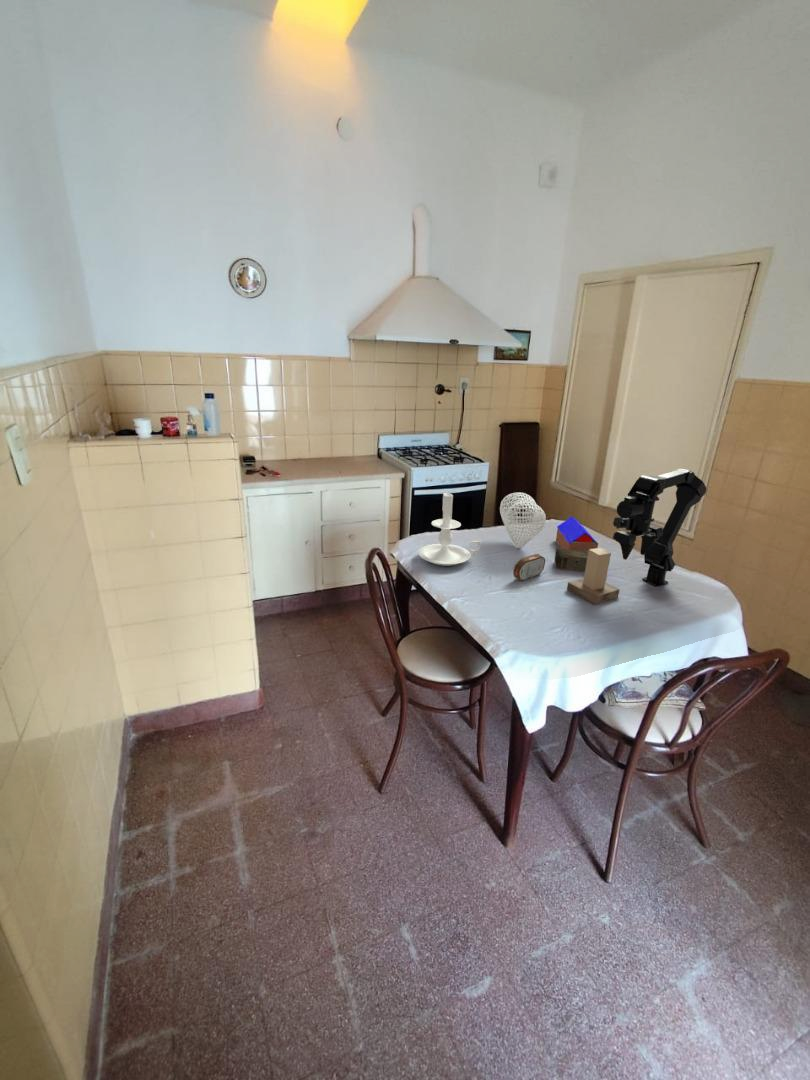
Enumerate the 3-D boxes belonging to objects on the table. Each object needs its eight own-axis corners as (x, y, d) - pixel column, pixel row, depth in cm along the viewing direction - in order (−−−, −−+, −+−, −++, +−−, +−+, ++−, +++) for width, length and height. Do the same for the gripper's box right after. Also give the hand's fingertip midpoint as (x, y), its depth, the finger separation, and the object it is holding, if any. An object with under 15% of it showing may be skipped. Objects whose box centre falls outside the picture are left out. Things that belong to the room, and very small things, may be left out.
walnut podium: (590, 583, 179) (591, 575, 178) (618, 597, 169) (619, 589, 168) (566, 589, 173) (568, 582, 172) (594, 604, 164) (595, 596, 163)
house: (566, 558, 200) (571, 531, 196) (554, 540, 219) (558, 515, 215) (596, 559, 200) (601, 532, 196) (581, 541, 219) (586, 516, 214)
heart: (493, 535, 222) (498, 488, 214) (528, 536, 222) (533, 489, 214) (506, 560, 196) (512, 507, 188) (544, 561, 196) (552, 508, 188)
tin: (538, 571, 188) (541, 550, 185) (545, 574, 185) (548, 553, 182) (511, 580, 179) (513, 559, 176) (518, 584, 177) (520, 562, 174)
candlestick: (485, 571, 186) (492, 500, 176) (420, 571, 185) (423, 500, 174) (475, 550, 205) (480, 485, 195) (416, 550, 204) (418, 485, 193)
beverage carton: (607, 574, 187) (610, 558, 184) (555, 570, 189) (558, 554, 187) (602, 566, 194) (605, 550, 192) (553, 562, 197) (555, 546, 194)
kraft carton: (594, 581, 173) (600, 547, 168) (604, 587, 169) (611, 553, 164) (582, 583, 172) (588, 549, 167) (592, 589, 167) (599, 554, 162)
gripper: (639, 504, 175) (631, 544, 180) (603, 510, 166) (596, 553, 172) (668, 512, 166) (658, 555, 171) (632, 520, 157) (623, 565, 163)
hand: (633, 556), depth 169 cm, fingers open, 9 cm apart
